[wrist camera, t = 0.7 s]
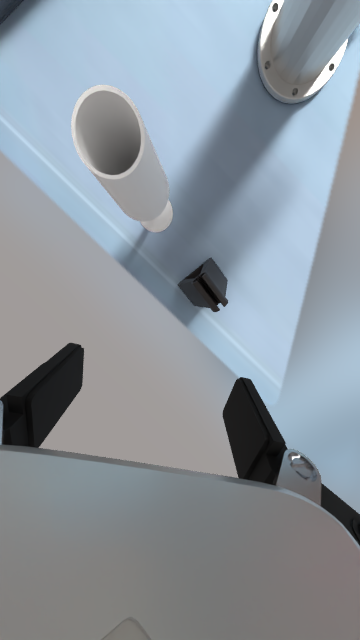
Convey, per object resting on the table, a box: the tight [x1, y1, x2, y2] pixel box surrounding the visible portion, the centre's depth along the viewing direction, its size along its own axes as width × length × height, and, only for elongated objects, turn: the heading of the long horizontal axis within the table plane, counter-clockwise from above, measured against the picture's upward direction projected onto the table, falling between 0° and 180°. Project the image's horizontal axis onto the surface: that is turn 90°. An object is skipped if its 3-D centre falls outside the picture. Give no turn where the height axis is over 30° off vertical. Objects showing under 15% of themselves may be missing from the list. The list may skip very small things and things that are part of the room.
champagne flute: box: [71, 85, 173, 232], centre depth 23 cm, size 7×7×24 cm
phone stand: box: [178, 257, 228, 312], centre depth 33 cm, size 9×6×12 cm, turn 129°
